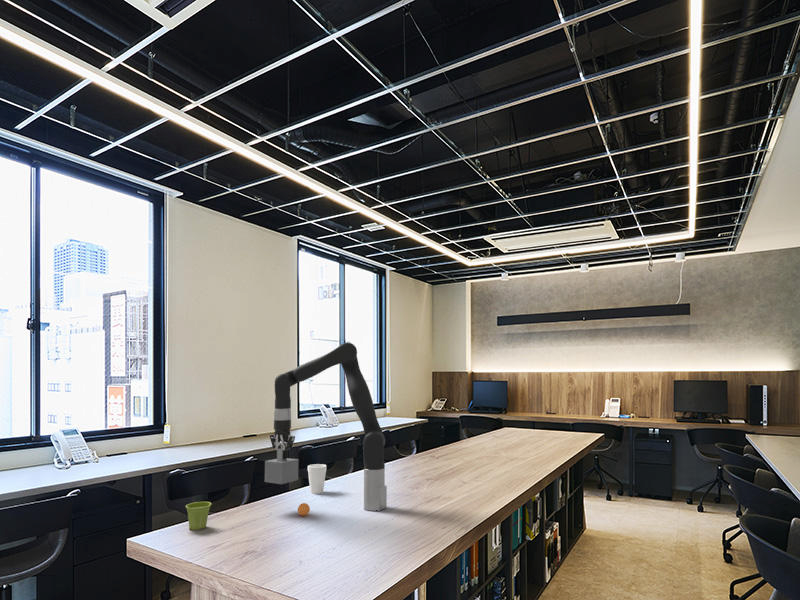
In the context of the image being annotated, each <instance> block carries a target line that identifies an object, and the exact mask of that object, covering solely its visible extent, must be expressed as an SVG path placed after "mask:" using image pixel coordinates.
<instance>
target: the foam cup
mask: <svg viewBox="0 0 800 600" xmlns="http://www.w3.org/2000/svg"><path fill="white" fill-rule="evenodd" d="M307 472H308V483H309V493H310V494H311V493H312V495H319V494H320V493H321V494H324V488H325V483H326V482H325V480H326V474H327V464H324V463H322V464H320V463H316V464H315V463H314V464H309V465H307Z"/></svg>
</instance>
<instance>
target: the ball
mask: <svg viewBox="0 0 800 600" xmlns="http://www.w3.org/2000/svg"><path fill="white" fill-rule="evenodd" d="M310 510H311V508H310V505H309V504H308V503H306V502H303V503H300V504H299V505H298V506H297V513H298V515H300V516H301V517H304V516H308V514H309V513H310Z"/></svg>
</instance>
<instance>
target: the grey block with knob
mask: <svg viewBox="0 0 800 600" xmlns="http://www.w3.org/2000/svg"><path fill="white" fill-rule="evenodd" d="M298 480H299V459H298V458H288V457H287V459H283V447H281V448H279V449H277V457H276V458H273V459H268V460H264V483H268V484H269V483H270V484H277V485H285V484H289V483H291V482H295V481H298Z"/></svg>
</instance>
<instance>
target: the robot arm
mask: <svg viewBox="0 0 800 600" xmlns="http://www.w3.org/2000/svg"><path fill="white" fill-rule="evenodd" d="M336 365H341V367H342V369H343V372H344V375H345V379H346V384H347V389H348V394H349V398H350V401H351V405H352V407H353V409H354V411H355V413H356V415H357V417H358V418H359V420H360V422H361V425H362V429H363V432H364V438H363V440H362V443H363V444H362V455H363V457H362V460H363V509H364V510H365V511H369V510H370V511H371V512H380V511H383V510H385V509H387V505H388V502H387V499H388V498H387V497H388V496H387V495H388V491H387V485H386V481H385V474H386V473H385V470H386V467H385V444H386V437H385V435H384V433H383V430H382V428H381V425H380V423H379V420H378V417H377V413H376V410H375V405H374V403H373V399H372V395H371V392H370V389H369V385H368V384H367V381H366V379H365V377H364V375H363V373H362V371H361V368H360V364H359V359H358V349H357V347H356V346H355V344H354V343H352V342H343V343H342V344H340V345H339V346H337V347H336V348H334V349H333V350H332V351H330V352H328V353H326V354H324V355H322V356H319V357H316V358H315V359H313V360H310V361H307V362H305V363H302V364H300V365H298V366H296V367H295V368H294V369H291V370H288V371H285V372H284V373H279V374H278V375H277V376H276V377H275V379H274V396H275V398H274V412H273V429H274V433H273V434H270V435H269V439H270V442H271V447H272V448H273V449H275V450H276V451H275V452H276V455H275V456H276V458H277V449H279V448H283V459H287V458H288V457H289V450H290V449H292V448H293V445H294V443H295V439H296V436H295V435H292V434H291V429H292V409H291V407H292V400H291V399H292V398H291V387H293V386H294V385H296V384H298V383H301V382H305V381H307V380H309V379H310V378H313V377H315V376H317V375H320V374H321V373H322V372H324V371H326V370H329V368H332V367H335V366H336ZM384 508H385V509H384ZM382 509H383V510H382ZM376 510H377V511H376ZM370 511H369V512H370Z"/></svg>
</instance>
